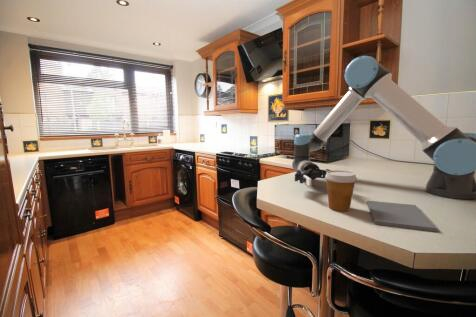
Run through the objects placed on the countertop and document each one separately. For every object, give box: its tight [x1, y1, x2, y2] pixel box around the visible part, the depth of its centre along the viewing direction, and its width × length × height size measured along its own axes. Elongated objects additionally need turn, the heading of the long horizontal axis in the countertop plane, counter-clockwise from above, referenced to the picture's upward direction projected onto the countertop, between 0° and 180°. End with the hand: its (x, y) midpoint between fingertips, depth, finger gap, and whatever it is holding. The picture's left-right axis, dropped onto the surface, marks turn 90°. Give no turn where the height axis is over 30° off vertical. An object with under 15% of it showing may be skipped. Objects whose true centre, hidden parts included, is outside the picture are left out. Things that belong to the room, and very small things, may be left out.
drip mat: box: [366, 200, 438, 233], centre depth 71 cm, size 14×18×1 cm
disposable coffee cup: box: [325, 169, 358, 213], centre depth 77 cm, size 10×10×12 cm
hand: (328, 182), depth 85 cm, fingers open, 13 cm apart
